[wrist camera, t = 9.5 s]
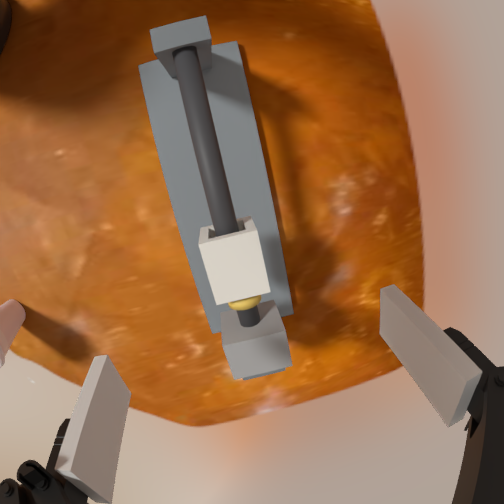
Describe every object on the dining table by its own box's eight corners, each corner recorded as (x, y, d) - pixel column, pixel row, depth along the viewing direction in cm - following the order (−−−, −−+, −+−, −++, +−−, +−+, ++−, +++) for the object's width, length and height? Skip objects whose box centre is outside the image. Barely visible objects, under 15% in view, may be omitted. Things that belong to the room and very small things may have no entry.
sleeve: (200, 227, 25) (198, 244, 21) (250, 215, 26) (257, 230, 22) (215, 281, 27) (216, 305, 23) (262, 269, 27) (270, 292, 23)
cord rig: (139, 67, 26) (103, 33, 15) (236, 43, 26) (248, -4, 15) (212, 329, 37) (214, 399, 26) (292, 310, 37) (320, 373, 27)
